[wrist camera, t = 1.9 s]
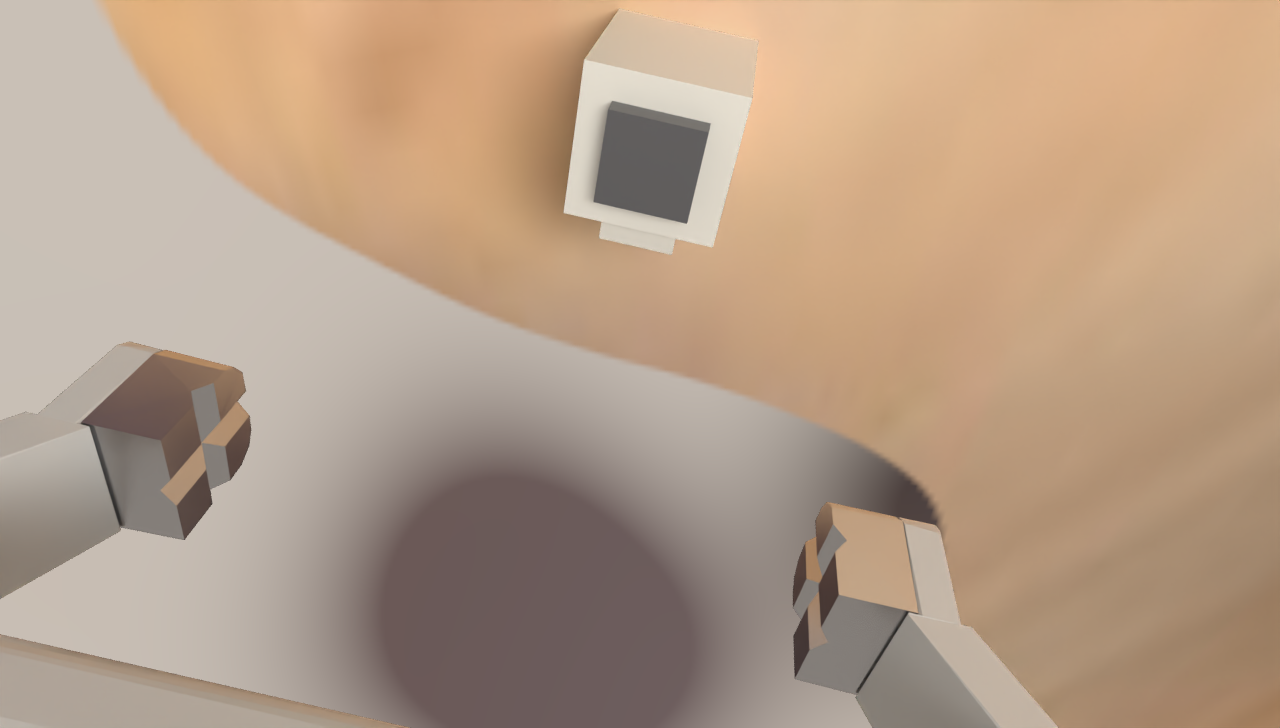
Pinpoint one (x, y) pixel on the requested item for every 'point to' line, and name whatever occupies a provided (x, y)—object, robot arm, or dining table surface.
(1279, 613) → the dining table surface
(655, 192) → the white and grey block
